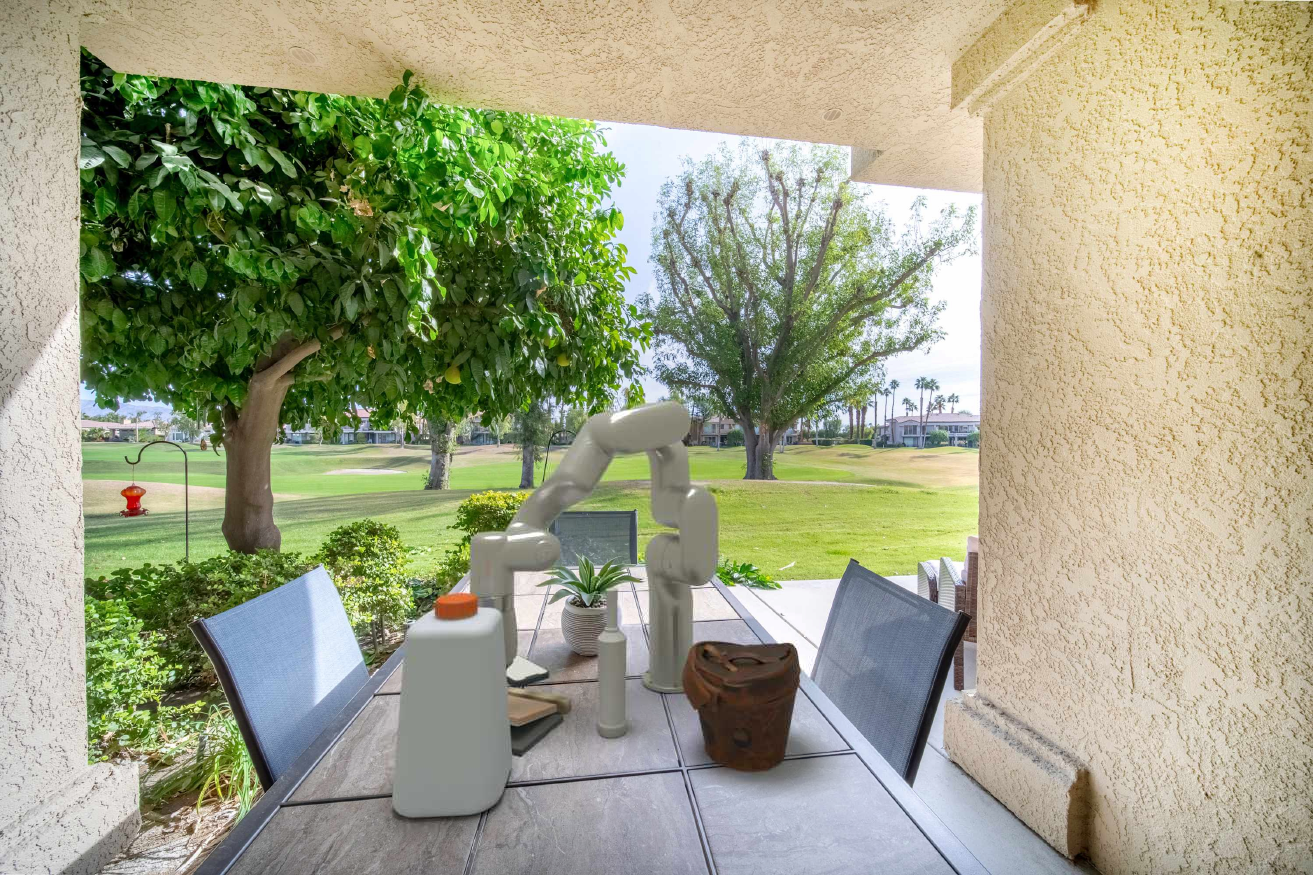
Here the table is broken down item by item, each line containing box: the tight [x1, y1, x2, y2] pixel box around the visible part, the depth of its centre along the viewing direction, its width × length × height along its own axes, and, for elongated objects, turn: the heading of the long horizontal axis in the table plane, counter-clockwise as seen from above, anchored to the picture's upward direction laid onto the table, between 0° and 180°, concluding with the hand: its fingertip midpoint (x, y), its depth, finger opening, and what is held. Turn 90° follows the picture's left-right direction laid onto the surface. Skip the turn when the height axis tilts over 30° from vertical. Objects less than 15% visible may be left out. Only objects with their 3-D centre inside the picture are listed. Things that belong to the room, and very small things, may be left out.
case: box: [682, 640, 802, 772], centre depth 94 cm, size 18×20×18 cm
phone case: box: [506, 654, 550, 688], centre depth 128 cm, size 9×2×16 cm
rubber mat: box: [510, 713, 564, 757], centre depth 102 cm, size 18×13×1 cm
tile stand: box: [507, 685, 572, 715], centre depth 111 cm, size 16×3×2 cm, turn 68°
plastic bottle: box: [391, 592, 513, 819], centre depth 84 cm, size 15×15×28 cm
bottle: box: [596, 587, 628, 739], centre depth 101 cm, size 5×5×25 cm
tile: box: [508, 695, 557, 726], centre depth 104 cm, size 1×14×12 cm
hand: (491, 707), depth 100 cm, fingers closed
